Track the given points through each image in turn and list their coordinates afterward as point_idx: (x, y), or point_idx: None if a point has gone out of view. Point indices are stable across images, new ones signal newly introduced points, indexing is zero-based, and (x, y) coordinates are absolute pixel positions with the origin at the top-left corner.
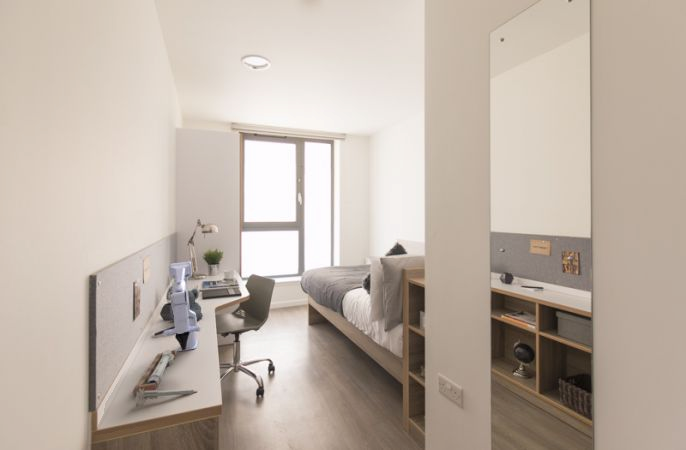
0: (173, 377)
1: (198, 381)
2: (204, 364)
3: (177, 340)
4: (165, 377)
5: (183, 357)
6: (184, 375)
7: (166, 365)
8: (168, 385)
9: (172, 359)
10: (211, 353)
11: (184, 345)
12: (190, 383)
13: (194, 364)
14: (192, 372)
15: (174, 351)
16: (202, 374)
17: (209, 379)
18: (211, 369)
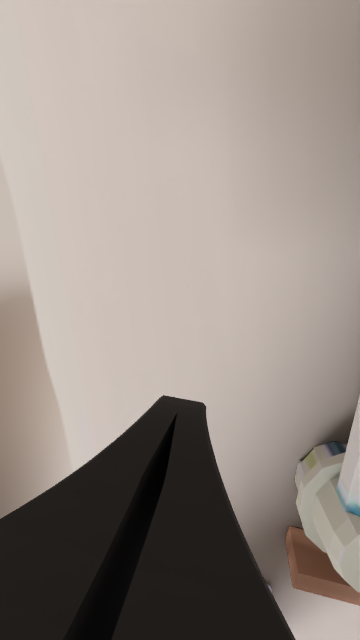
0: (291, 228)
1: (90, 52)
2: (94, 335)
3: (283, 620)
4: (354, 259)
5: (236, 498)
6: (209, 224)
7: (344, 446)
8: (331, 80)
9: (308, 476)
10: (78, 459)
11: (141, 431)
12: (148, 38)
13: (158, 368)
14: (157, 248)
15: (296, 573)
16: (81, 177)
17: (14, 54)
18: (35, 233)
